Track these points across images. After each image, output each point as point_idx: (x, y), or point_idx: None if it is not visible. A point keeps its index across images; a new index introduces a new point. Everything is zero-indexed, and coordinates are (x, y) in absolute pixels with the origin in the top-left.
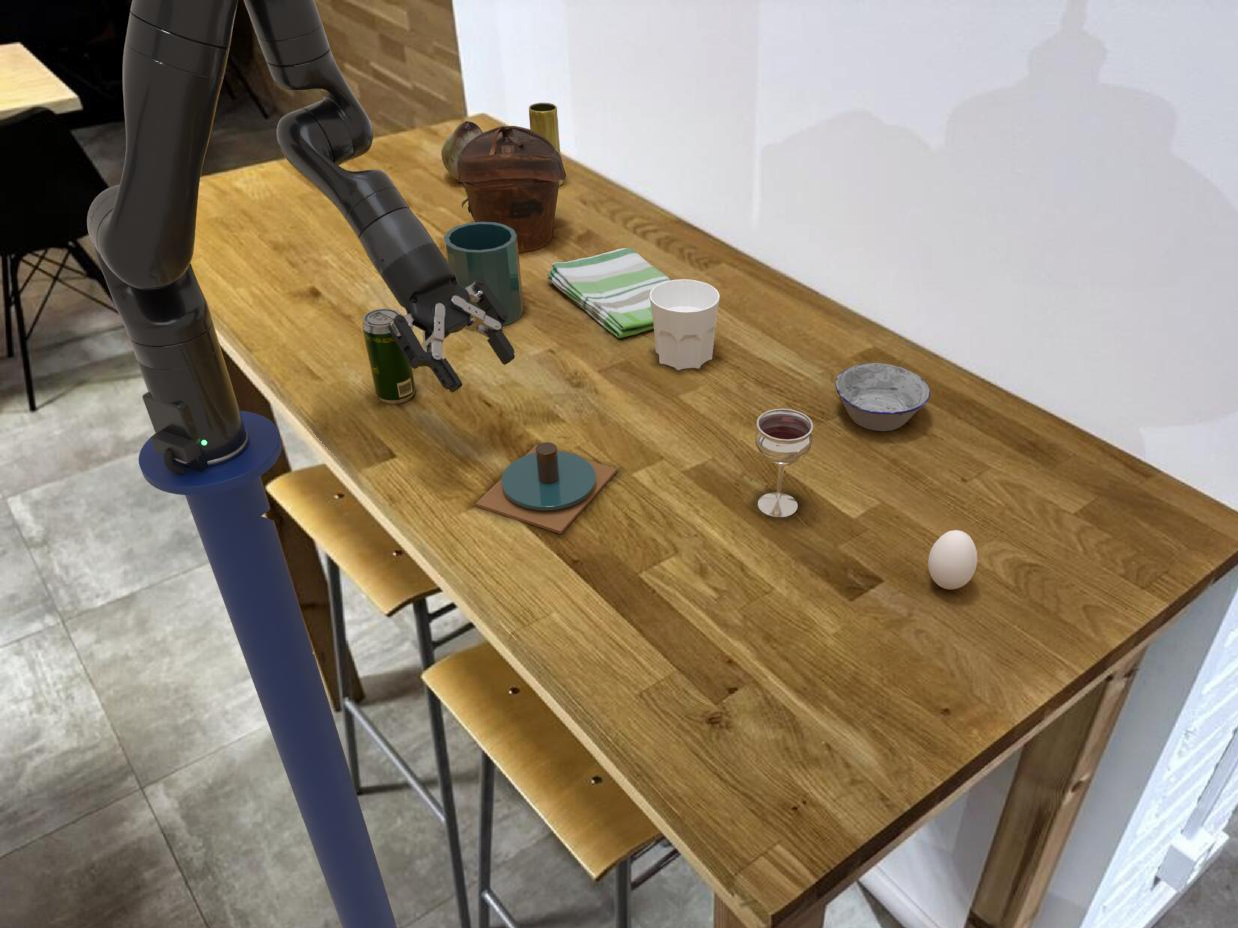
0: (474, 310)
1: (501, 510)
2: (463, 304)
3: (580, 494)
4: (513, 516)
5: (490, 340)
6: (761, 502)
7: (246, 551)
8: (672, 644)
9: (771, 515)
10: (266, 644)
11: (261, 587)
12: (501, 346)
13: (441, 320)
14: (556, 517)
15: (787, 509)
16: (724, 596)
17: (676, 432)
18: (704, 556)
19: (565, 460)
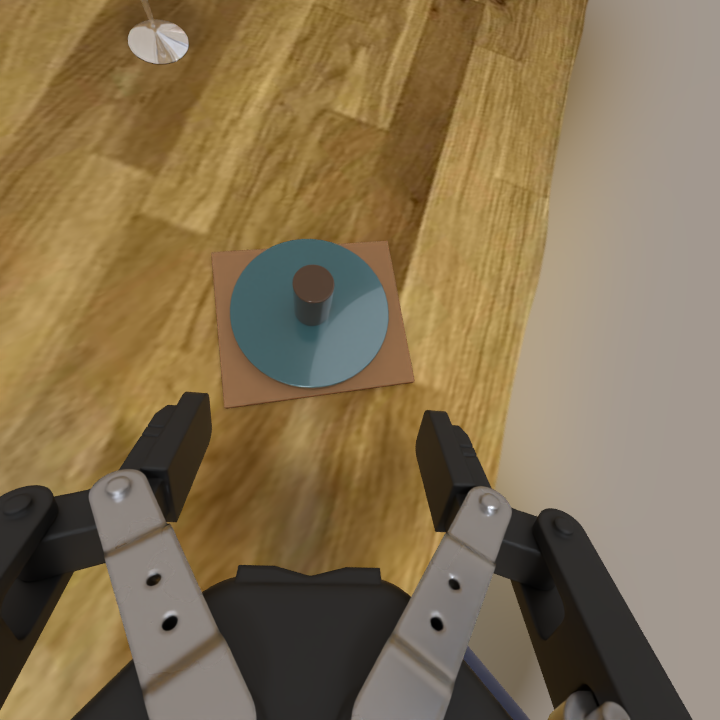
0: (155, 592)
1: (404, 336)
2: (190, 665)
3: (318, 244)
4: (401, 315)
5: (178, 499)
6: (168, 56)
7: (521, 714)
8: (451, 59)
9: (187, 40)
10: None
11: (485, 673)
12: (189, 435)
13: (417, 629)
14: (367, 262)
15: (164, 24)
16: (358, 41)
17: (46, 232)
18: (311, 81)
19: (254, 315)
